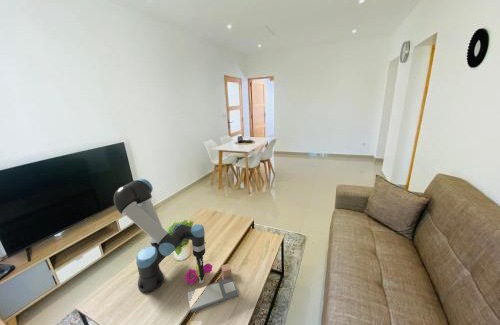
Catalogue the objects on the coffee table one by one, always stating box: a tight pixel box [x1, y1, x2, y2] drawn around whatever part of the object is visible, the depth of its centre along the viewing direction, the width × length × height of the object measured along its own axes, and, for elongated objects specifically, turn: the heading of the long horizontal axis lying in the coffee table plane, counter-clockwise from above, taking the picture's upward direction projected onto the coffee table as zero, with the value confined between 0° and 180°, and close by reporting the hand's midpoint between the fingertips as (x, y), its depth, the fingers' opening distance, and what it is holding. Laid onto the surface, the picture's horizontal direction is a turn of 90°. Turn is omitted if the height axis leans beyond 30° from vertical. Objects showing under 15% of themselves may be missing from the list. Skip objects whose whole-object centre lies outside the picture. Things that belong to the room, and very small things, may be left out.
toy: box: [184, 262, 213, 284], centre depth 137 cm, size 10×18×10 cm
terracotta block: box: [221, 263, 232, 280], centre depth 140 cm, size 5×5×7 cm
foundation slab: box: [187, 276, 240, 313], centre depth 128 cm, size 28×13×2 cm, turn 112°
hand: (200, 275), depth 138 cm, fingers closed on toy, 11 cm apart
